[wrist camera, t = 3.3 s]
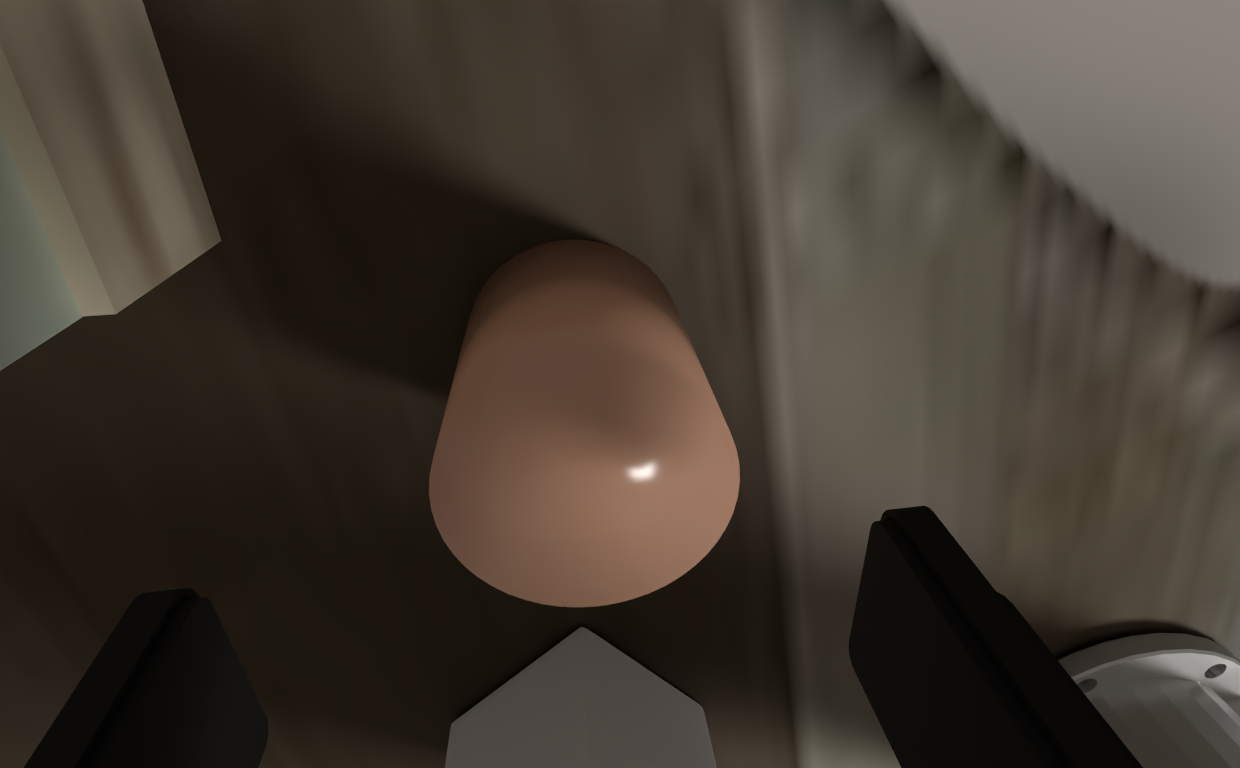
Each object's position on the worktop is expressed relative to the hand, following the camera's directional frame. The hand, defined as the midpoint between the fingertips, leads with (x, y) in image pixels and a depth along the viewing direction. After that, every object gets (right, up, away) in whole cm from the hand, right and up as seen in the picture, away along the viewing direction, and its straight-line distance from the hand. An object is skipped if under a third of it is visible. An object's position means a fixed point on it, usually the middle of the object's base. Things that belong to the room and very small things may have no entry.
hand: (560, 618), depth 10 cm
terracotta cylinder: (0, +5, +9) cm, 10 cm away
